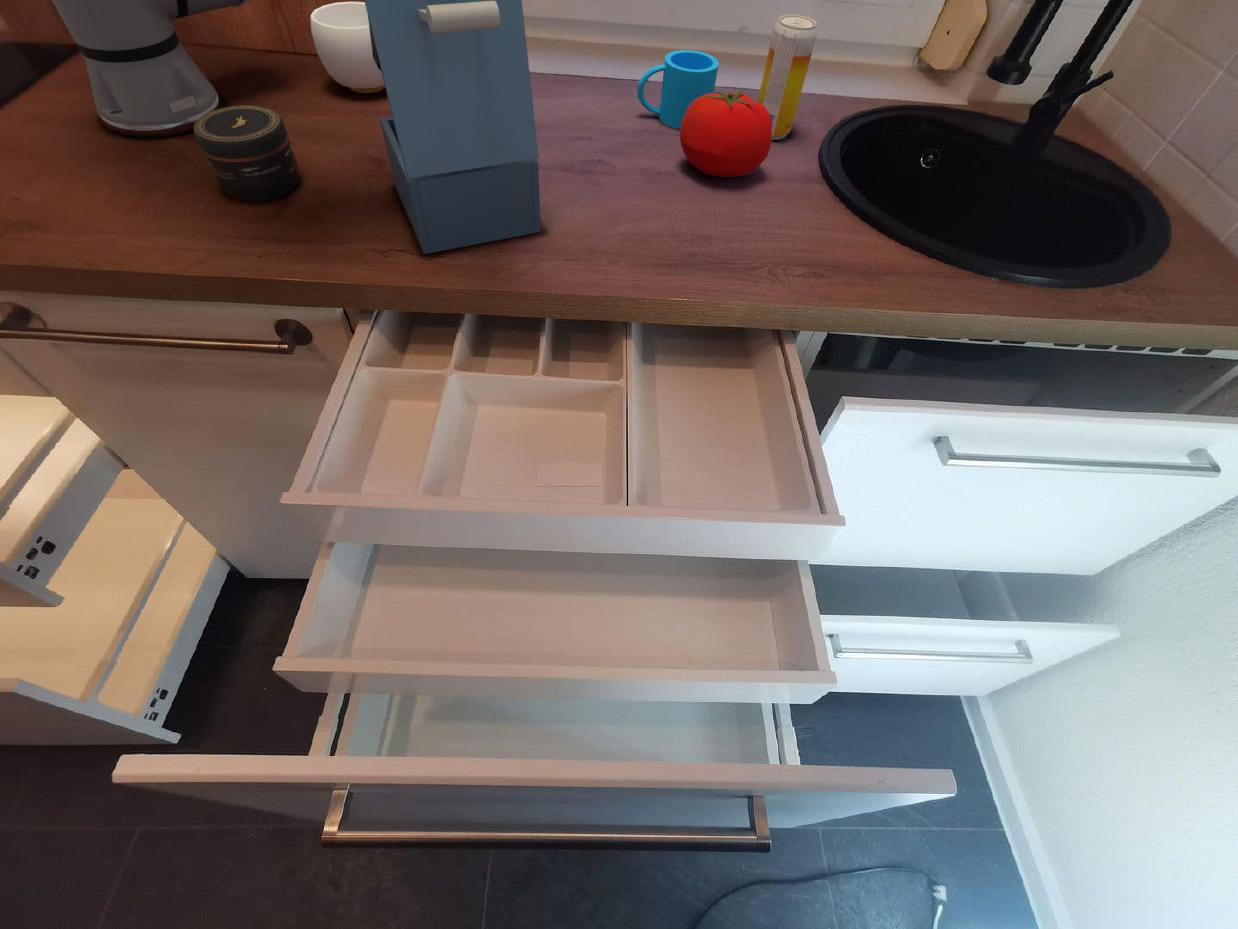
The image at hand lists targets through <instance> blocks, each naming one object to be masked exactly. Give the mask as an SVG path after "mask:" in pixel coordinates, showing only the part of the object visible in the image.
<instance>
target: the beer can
mask: <svg viewBox="0 0 1238 929" xmlns="http://www.w3.org/2000/svg"><path fill="white" fill-rule="evenodd" d="M817 23H818V22H817V21H816V20H815V19H813V18H811V17H809V16H806V15H801V14H794V13H789V14H782V15H780V16H779V18H778V20H777V22H776V23H775V25H773V30H772V35H771V40H770V44H769V47H768V53H767V56H766V62H765V66H764V70H763V74H762V79H761V84H760V89H759V93H758V98H757V103H760V104H762V105H764V106H765V108H766V109H767V111H768V112H769V115H770V117H771V120H772V136H771V140H772V141H773V140H774V141H775V140H776V141H777V140H782V139H784V138H786V137H787V135H789V133H791V131H792V128H793V124H794V120H795V118H796V113H797V111H798V110H797V109H798V106H799V102H800V98H801V95H802V92H803V87H804V84H805V80H806V77H807V73H808V69H809V65H810V61H811V57H812V54H813V51H814V46H815V43H816V39H817V36H818V28H817V25H818V24H817Z"/></svg>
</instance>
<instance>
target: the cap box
mask: <svg viewBox="0 0 1238 929" xmlns="http://www.w3.org/2000/svg"><path fill="white" fill-rule="evenodd" d="M379 123H380V125H381V130H382V131H381V132H382V134H383V135H382V136H383V139H384V143H385V147H386V152H387V157H388V160H389V164H390V168H391V173H392V177H393V182H394V185H395V186H394V187H395V189H396V192H397V194H398V196H399V198H400V201H401V203H402V206H403V208H404V211H405V213H406V215H407V217H408V220H409V222H410V225H411V228H412V229H413V231H414V234H415V236H416V239H417V240H418V244H419V245H420V248H421V250H422V252H423V254H424V255H426V254H431V253H437V252H441V251H447V250H453V249H458V248H464V247H468V246H475V245H480V244H484V243H489V242H495V241H496V242H497V241H501V240H507V239H511V238H516V237H517V238H518V237H521V236H526V235H531V234H532V235H533V234H537V233H541V232H542V222H541V202H540V201H541V199H540V198H541V197H540V179H539V178H540V176H539V175H540V174H539V161H538V159H535V160H529V161H522V162H516V163H509V164H503V165H496V166H490V167H483V168H477V169H470V170H464V171H457V172H451V173H444V174H438V175H431V176H425V177H418V178H412V179H408V177H407V175H406V171H405V167H404V162H403V158H402V154H401V150H400V146H399V142H398V138H397V133H396V129H395V125H394V121H393V117H392V116H387V117H380V118H379Z"/></svg>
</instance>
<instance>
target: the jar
mask: <svg viewBox="0 0 1238 929" xmlns="http://www.w3.org/2000/svg"><path fill="white" fill-rule="evenodd" d="M193 134H194V137H195V139H196V142H197V144H198V146H199V149H200V152H202V154H203V156H204V158H205V160H206V162H207V165H208V167H209V168H210V170H211V173H212V174H213V177H214V179H215V180H216V182H217V183H218V184H219V185H220V187H221V188H222V189H223V190H224V192H226V193H227V194H229V196H232V197H233V198H236V199H239V200H242V201H250V202H259V201H268V200H273V199H276V198H280V197H283V196H284V195H286V194H287V193H290V192H291V191H292V190H293V189H294V188H295V187H296V186H297V183H298V181H299V177H300V176H299V165H298V162H297V158H296V156H295V153H294V150H293V147H292V144H291V141H290V134H289V132H288V131H287V129H286V126H285V124H284V122H283V119H282V117H281V116H280V115H279V114H278V113H277V112H276V111H274V110H272V109H271V108H268V107H264V106H259V105H250V104H249V105H248V104H247V105H246V104H244V105H231V106H226V107H222V108H221V109H217V110H214V111H212V112H209V113H207V114H205V115H203V116H202V117H200V118H199V119H198V120H197V121H196V123H195V124H194V129H193Z"/></svg>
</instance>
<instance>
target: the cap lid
mask: <svg viewBox="0 0 1238 929" xmlns="http://www.w3.org/2000/svg"><path fill="white" fill-rule="evenodd" d="M363 1H364V2H365V5H366V9H367V13H368V18H369V22H370V26H371V30H372V34H373V38H374V42H375V47H376V51H377V55H378V59H379V63H380V67H381V71H382V76H383V80H384V84H385V88H384V89H385V92H386V96H387V100H388V105H389V108H390V112H391V117H393V121H394V125H395V129H396V133H397V138H398V142H399V146H400V150H401V154H402V158H403V162H404V167H405V171H406V175H407V177H408V179H412V178H418V177H425V176H431V175H438V174H444V173H451V172H457V171H464V170H470V169H477V168H483V167H490V166H496V165H503V164H509V163H516V162H522V161H529V160H535V159H536V160H539V158H540V156H539V147H538V139H537V138H538V137H537V128H536V120H535V110H534V102H533V91H532V83H531V73H530V65H529V55H528V54H529V53H528V46H527V36H526V28H525V18H524V8H523V0H363Z"/></svg>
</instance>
